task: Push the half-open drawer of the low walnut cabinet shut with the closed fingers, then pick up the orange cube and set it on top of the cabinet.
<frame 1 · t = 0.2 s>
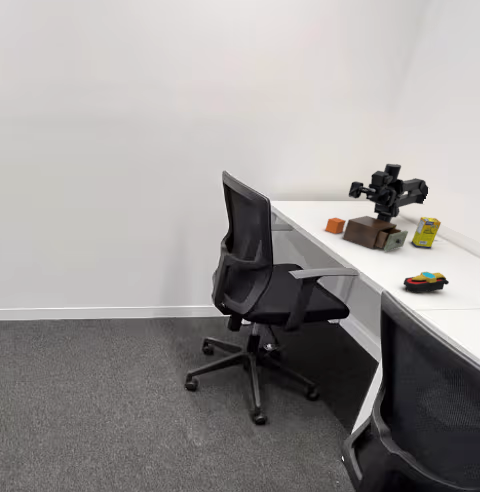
hand: (359, 196, 222), 17 cm above the table, tool horizontal, fingers open, 9 cm apart
supplement box: (420, 246, 226), on the table
cabinet: (365, 241, 228), on the table
drawer: (384, 236, 221), point 4 cm above the table, slide at 4.5 cm
gadget: (420, 290, 187), on the table
orange cube: (333, 231, 237), on the table
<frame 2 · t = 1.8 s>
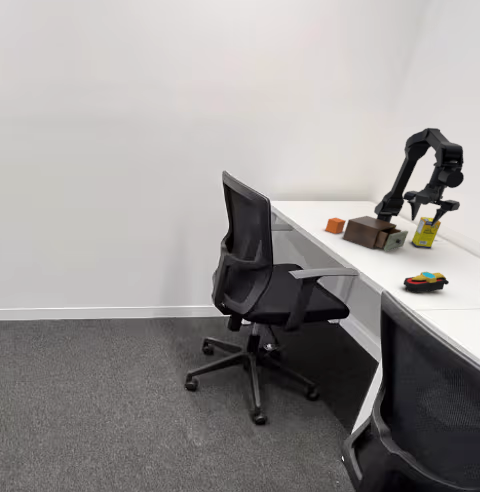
hand: (422, 223, 210), 12 cm above the table, tool pointing down, fingers open, 7 cm apart
nothing on the table moved.
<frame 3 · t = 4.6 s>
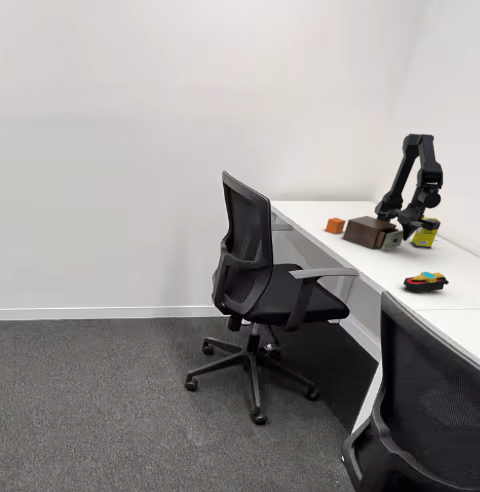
hand: (404, 240, 218), 4 cm above the table, tool pointing down, fingers closed
drawer: (382, 236, 221), point 4 cm above the table, slide at 3.4 cm, touching gripper
everything else where it was.
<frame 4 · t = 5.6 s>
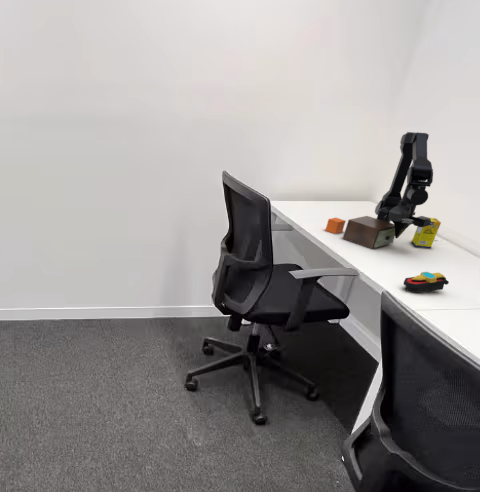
hand: (396, 238, 220), 4 cm above the table, tool pointing down, fingers closed
drawer: (374, 233, 224), point 4 cm above the table, slide at 0.0 cm, touching cabinet, gripper
everything else where it was.
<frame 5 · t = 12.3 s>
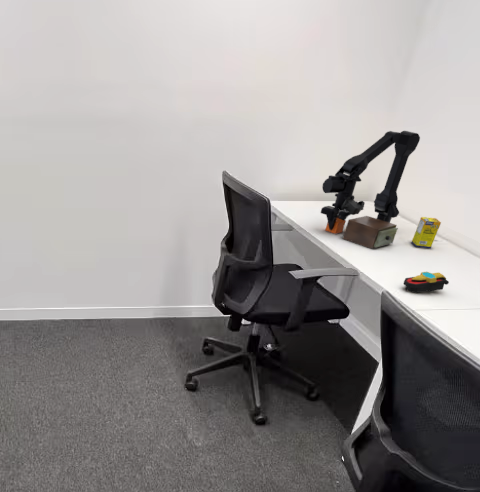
hand: (334, 228, 237), 1 cm above the table, tool pointing down, fingers closed on orange cube, 5 cm apart
drawer: (374, 233, 224), point 4 cm above the table, slide at 0.0 cm, touching cabinet
orange cube: (333, 231, 237), on the table, touching gripper
everything else where it was.
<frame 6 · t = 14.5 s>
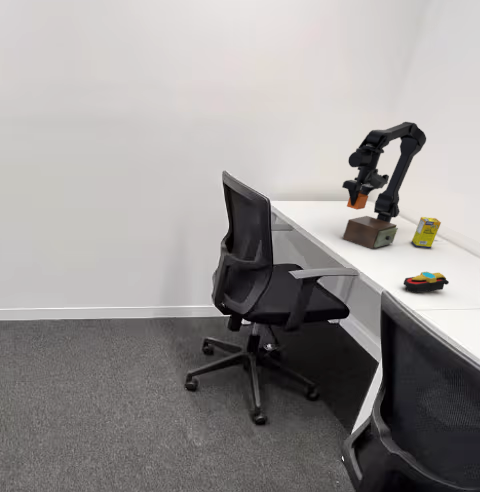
hand: (356, 204, 226), 13 cm above the table, tool pointing down, fingers closed on orange cube, 5 cm apart
orange cube: (355, 207, 227), point 12 cm above the table, touching gripper
everything else where it was.
when the fingers open (9 cm above the table, at t = 16.8 s): orange cube stays where it is, resting on cabinet.
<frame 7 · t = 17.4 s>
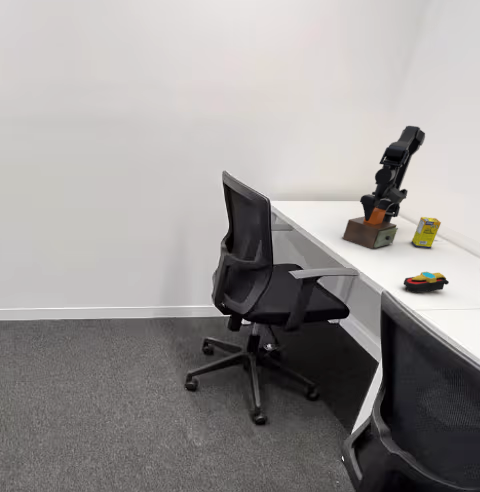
hand: (373, 219, 222), 9 cm above the table, tool pointing down, fingers open, 9 cm apart
orange cube: (372, 222, 223), point 8 cm above the table, touching cabinet
everything else where it was.
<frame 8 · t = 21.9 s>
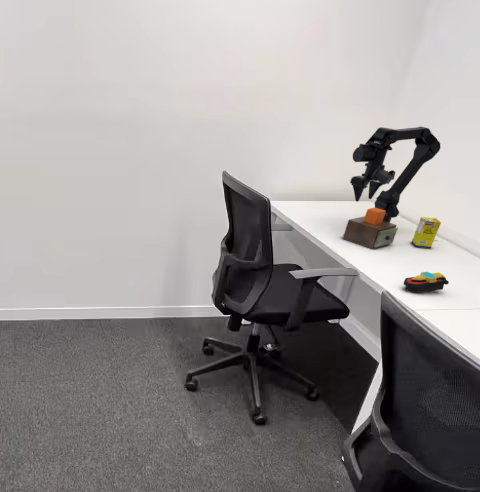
hand: (363, 200, 233), 13 cm above the table, tool pointing down, fingers open, 9 cm apart
nothing on the table moved.
at the end: drawer slide at 0.0 cm; orange cube inside the target area on the cabinet (0.1 cm from its centre), point 8.1 cm above the cabinet's base; orange cube tilted 0° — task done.
